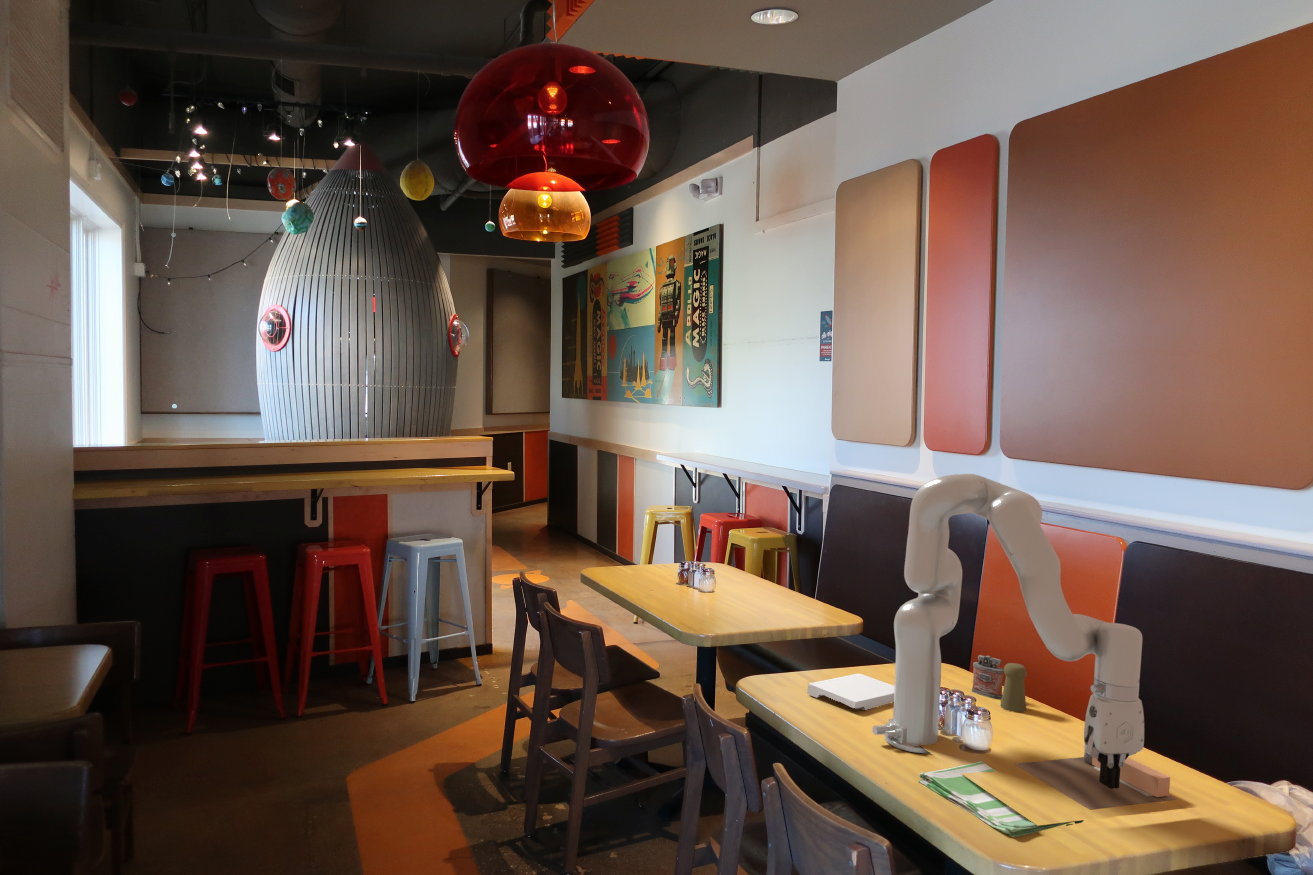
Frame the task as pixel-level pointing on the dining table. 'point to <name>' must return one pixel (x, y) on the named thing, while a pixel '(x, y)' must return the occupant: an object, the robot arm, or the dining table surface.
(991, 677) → the lighter
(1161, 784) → the folding leg
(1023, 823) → the dish towel
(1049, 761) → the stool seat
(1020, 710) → the olive pepper mill
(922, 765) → the dining table surface
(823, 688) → the white flat block
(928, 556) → the robot arm
